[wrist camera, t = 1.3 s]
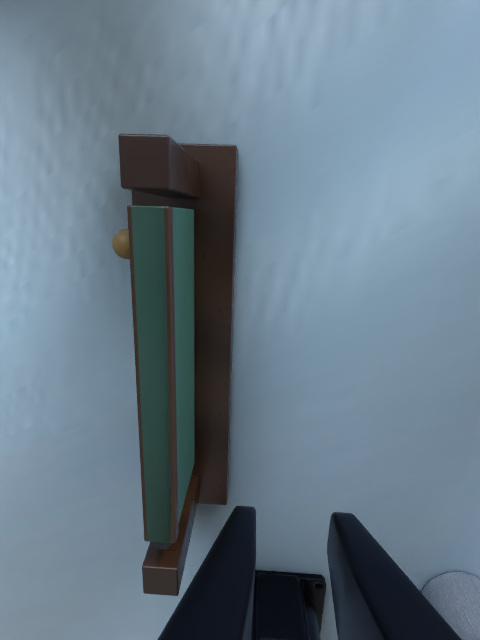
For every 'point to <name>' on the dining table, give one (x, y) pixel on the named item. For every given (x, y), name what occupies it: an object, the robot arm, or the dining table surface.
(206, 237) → the gate frame
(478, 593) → the grey tall cylinder
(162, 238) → the door
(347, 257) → the dining table surface
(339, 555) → the robot arm
